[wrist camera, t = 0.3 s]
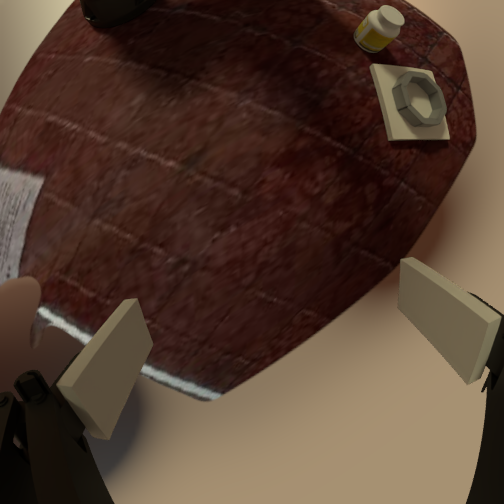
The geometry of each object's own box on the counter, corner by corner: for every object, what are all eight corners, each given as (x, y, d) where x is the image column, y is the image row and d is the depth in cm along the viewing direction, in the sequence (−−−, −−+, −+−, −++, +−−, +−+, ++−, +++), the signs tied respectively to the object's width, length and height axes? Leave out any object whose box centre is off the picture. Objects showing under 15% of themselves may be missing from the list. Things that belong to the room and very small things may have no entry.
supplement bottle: (386, 52, 33) (414, 29, 24) (362, 55, 34) (388, 29, 24) (372, 28, 32) (396, 2, 23) (347, 30, 32) (369, 1, 23)
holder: (369, 66, 34) (381, 56, 30) (427, 73, 34) (441, 66, 30) (388, 140, 37) (403, 136, 32) (444, 140, 37) (460, 137, 32)
